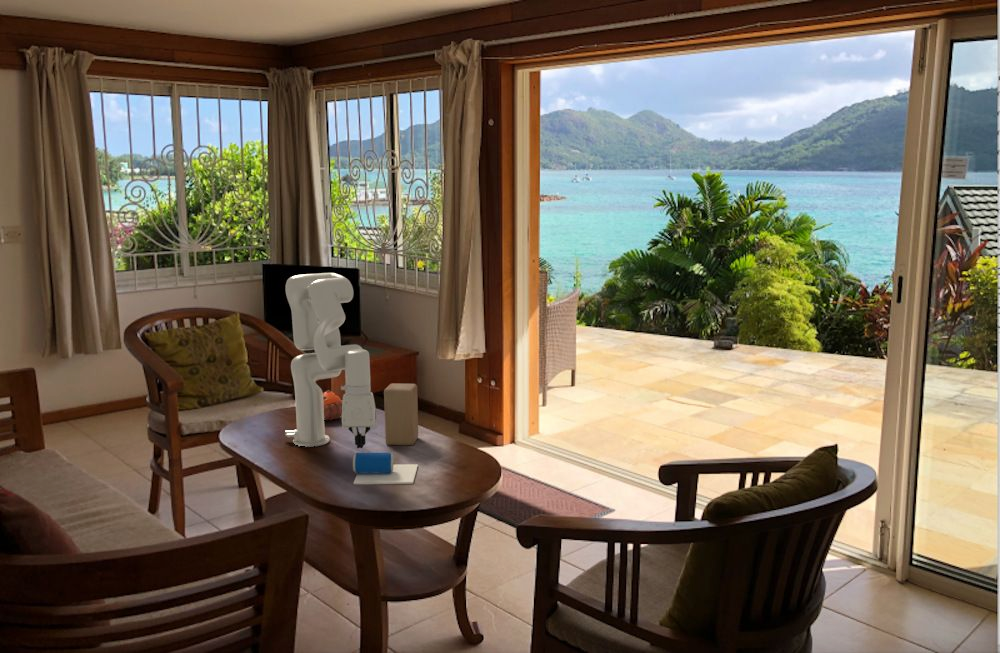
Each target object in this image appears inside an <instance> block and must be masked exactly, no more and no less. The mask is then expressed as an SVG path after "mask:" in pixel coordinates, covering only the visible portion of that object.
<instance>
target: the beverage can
mask: <svg viewBox="0 0 1000 653" xmlns="http://www.w3.org/2000/svg"><path fill="white" fill-rule="evenodd" d="M394 460H395V459H394V454H393V453H390V452H356V453H355V454H354V455H353V457H352V470H353V472H354V473H355V474H356V475H357V474H388V473H390V472H393V467H394V462H395V461H394Z"/></svg>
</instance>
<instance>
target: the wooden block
mask: <svg viewBox="0 0 1000 653" xmlns="http://www.w3.org/2000/svg"><path fill="white" fill-rule="evenodd" d="M383 397H384V399H383V401H384V406H383V407H384V431H385V432H384V434H385V444H386V445H388V446H413V445H415V442H416V441H417V439H418V437H419V412H418V411H419V410H418V408H419V406H418V385H417V384H416V383H398V382H397V383H390V384H388V386H387V387H386V388H384V391H383Z"/></svg>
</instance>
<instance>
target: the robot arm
mask: <svg viewBox="0 0 1000 653" xmlns="http://www.w3.org/2000/svg"><path fill="white" fill-rule="evenodd" d="M285 295H286V299H287V302H288V304H289V307H290V310H291V320H292V322H291V324H292V334H293V335H292V336H293V344H294V346H295V348H296V349H298V350H299V351H311V350H314V352H312V353H311V352H309V353H303V354H302V353H301V354H299V355H297V356H295V357H294V358H293V359H292V360H291V361H290V362H291V363H290V371H291V376H292V381H293V386H294V396H295V401H294V402H295V414H296V415H295V416H296V418H295V419H296V420H295V421H296V429H294V430H285V432H284V436H286V437H287V438H293V440H292V443H294V444H295V445H294V444H293V445H294V446H296V445H298V446H297V447H300V446H305V447H304V448H314V446H315V447H320V446H323V445H326V444H328V443H329V442H330V436H329V435H327V434H326V428H325V427H326V426H325V421H324V402H323V393H324V392H323V390H322V388H321V387H320V386H319V385H318V384H317V381H320V380H327V379H333V378H336V377H338V376H340V375H341V373H342V371H344V373H345V374H344V378H345V384H344V385H340V390H341V391H344V394H342V415H341V425H342V426H341V428H342V429H343V430H346V431H349V432H350V433H352V434H353V436H354V445H355V446H356V448H357V449H363V448H364V446H365V445H366V434H367V433H368V432H369V431H371V430H376V429H378V424H377V412H376V411H377V409H376V402H375V397H374V394H373V392H372V391H371V390H372V389H371V388H372V387H371V365H370V360H371V359H370V352H369V351H368V350H366V349H363V347H362V346H360V345H359V344H345V345H342V344H341V342H342V341H341V340H342V339H341V332H340V329H339V328H340V327H341V326H342V325H343V324H344V322H345V320H346V314H345V312H344V309H343V307H342V304H344V303H349V302H351V301H352V300H353V298H354V288H353V285H352V283H351V281H350V280H349V279H348V278H346V277H345V276H343V275H341V274H338V273H335V272H321V273H320V272H319V273H306V274H297V275H293V276H290V277H289V278H288V279H287V280H286V283H285ZM359 428H361V432H360V430H359Z"/></svg>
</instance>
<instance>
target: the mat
mask: <svg viewBox="0 0 1000 653" xmlns="http://www.w3.org/2000/svg"><path fill="white" fill-rule="evenodd" d="M417 467H419V464H418V463H417V464H414V463H413V464H400V463H399V464H394V467H393V472H390V473H388V474H356V476H355V479H354V481H353V485H414V482H415V477H416V474H417V471H418V468H417Z"/></svg>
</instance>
